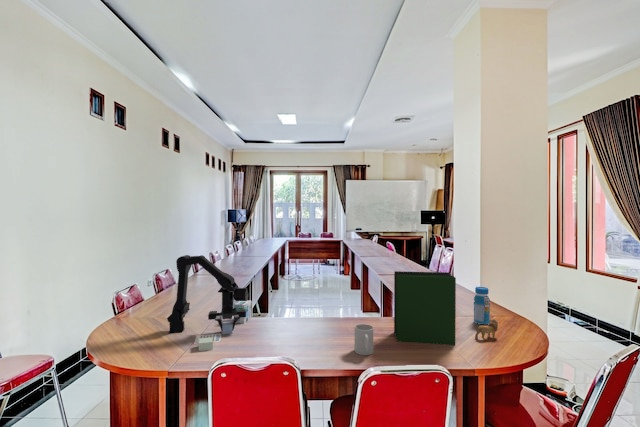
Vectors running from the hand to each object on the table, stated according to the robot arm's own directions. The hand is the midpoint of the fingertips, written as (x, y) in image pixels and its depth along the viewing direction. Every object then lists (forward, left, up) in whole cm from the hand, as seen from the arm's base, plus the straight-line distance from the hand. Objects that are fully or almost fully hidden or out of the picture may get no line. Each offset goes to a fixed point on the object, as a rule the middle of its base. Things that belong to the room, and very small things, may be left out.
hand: (227, 330), depth 174 cm
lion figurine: (+126, -37, -1) cm, 131 cm away
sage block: (-9, -18, -1) cm, 21 cm away
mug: (+60, -40, -1) cm, 72 cm away
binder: (+95, -30, -1) cm, 100 cm away
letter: (-9, -7, -1) cm, 11 cm away
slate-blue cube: (0, 0, -1) cm, 1 cm away
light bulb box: (+8, +18, -1) cm, 20 cm away
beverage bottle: (+140, -17, -1) cm, 141 cm away
